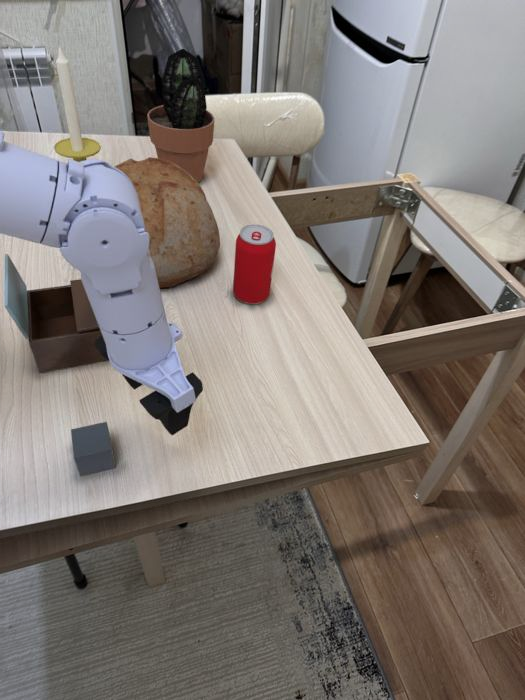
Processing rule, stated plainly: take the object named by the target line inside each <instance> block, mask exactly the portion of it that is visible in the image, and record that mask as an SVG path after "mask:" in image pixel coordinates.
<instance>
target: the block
mask: <svg viewBox="0 0 525 700" xmlns="http://www.w3.org/2000/svg"><path fill="white" fill-rule="evenodd" d="M70 434H71V435H70V436H71V443H72V445H71V446H72V452H73V453H72V455H73V459H74V462H75V466H76V469H77V472H78V475H79V477H83V476H88V475H92V474H96V473H99V472H105V471H108V470H113V469H115V468H116V461H115V456H114V451H113V444H112V438H111V435H110V434H111V433H110V430H109V425H108V422H107V421H103V422H99V423H94V424H89V425H84V426H80V427H75V428H71V429H70Z"/></svg>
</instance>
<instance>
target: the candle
mask: <svg viewBox="0 0 525 700" xmlns="http://www.w3.org/2000/svg"><path fill="white" fill-rule="evenodd" d="M58 46H59V47H58V55H57V59H56V60H55V65H56V70H57V75H58V80H59V87H60V91H61V98H62V102H63V108H64V112H65V119H66V123H67V128H68V129H67V130H68V135H69V137H67V138H64V139H61V140H59V141H57V142H56V143H55V144H54V145H53V149H54V152H55V153H56V154H58V155H59V156H60V157H64V158H67V159H68V158H69V159H72V160H74V161H77V162H81V161H85V160H88V159H87V158H90V157H94V156H95V155H97V154H99V153H100V151H101V148H102V146H101V144H100V142H98V140H97V141H96V140H95V139H92V138H88V137H83V135H82V130H81V123H80V118H79V112H78V107H77V99H76V95H75V89H74V82H73V78H72V77H73V76H72V71H71V66H70V65H71V64H70V61H69V59H67V58H66V55H65V53H64V51H63V49H62V48H61V44H60V43H59V44H58Z"/></svg>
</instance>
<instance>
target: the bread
mask: <svg viewBox="0 0 525 700" xmlns="http://www.w3.org/2000/svg"><path fill="white" fill-rule="evenodd" d="M113 167H116V168H117V169H119V170H121V171H122V172H123V173H124V174H125V175H127V177H128V178H129V179H130V180H131V182H132V184H133V185H134V188H135V190H136V192H137V195H138V199H139V203H140V207H141V212H142V216H143V220H144V225H145V229H146V232H148V233H149V239H150V242H149V252H150V257H151V259H152V261H153V263H154V267H155V271H156V276H157V280H158V284H159V288H160V289H161V288H171V287H173V286H176V285H179V284H181V283H183V282H186V281H188V280H191V279H192V278H194V277H197V276H198V275H201V274H203V273H204V272H206V271H207V270H208V269H209V268H210V267H212V265H213V264H214V262H215V260H216V258H217V256H218V254H219V250H220V247H221V237H220V229H219V226H218V223H217V220H216V218H215V215H214V212H213V209H212V207H211V205H210V203H209V201H208V199H207V197H206V193H205V192H204V189H203V187H202V186H201V185H200V184H199V183H197V182H196V181H195V179H194V178H193V177H192V176H191V175H190V174H189V173H188V172H186V171H185V170H184V169H182V168H181V167H179V166H178V165H176V164H174V163H172V162H170V161H168V160H164V159H161V158H158V157H150V156H149V157H147V158H145V159H142V160H134V159H133V158H129V159H128V160H124V161H122V162H120V163H119V164H116V165H113Z"/></svg>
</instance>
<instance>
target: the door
mask: <svg viewBox="0 0 525 700" xmlns="http://www.w3.org/2000/svg"><path fill="white" fill-rule="evenodd" d="M27 287H28V286H27V284H26V283H25V281H24V280H23V277H22V276H21V274H20V273H19V270H18V269H17V267H16V265H15V264H14V262H13V260H12V258H11V257H10V255H9V254H8V253H6V254H4V299H3V300H4V303H3V304H4V305H3V306H4V308H5V310H6V311H7V313H8V314H9V316H10V317H11V319H12V320H13V322H14V324H15V325H16V327H17V328H18V329H19V331H20V333H21V334H22V336H23V337H24V339H25V340H27V339H29V333H28V308H27V290H28V288H27Z"/></svg>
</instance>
